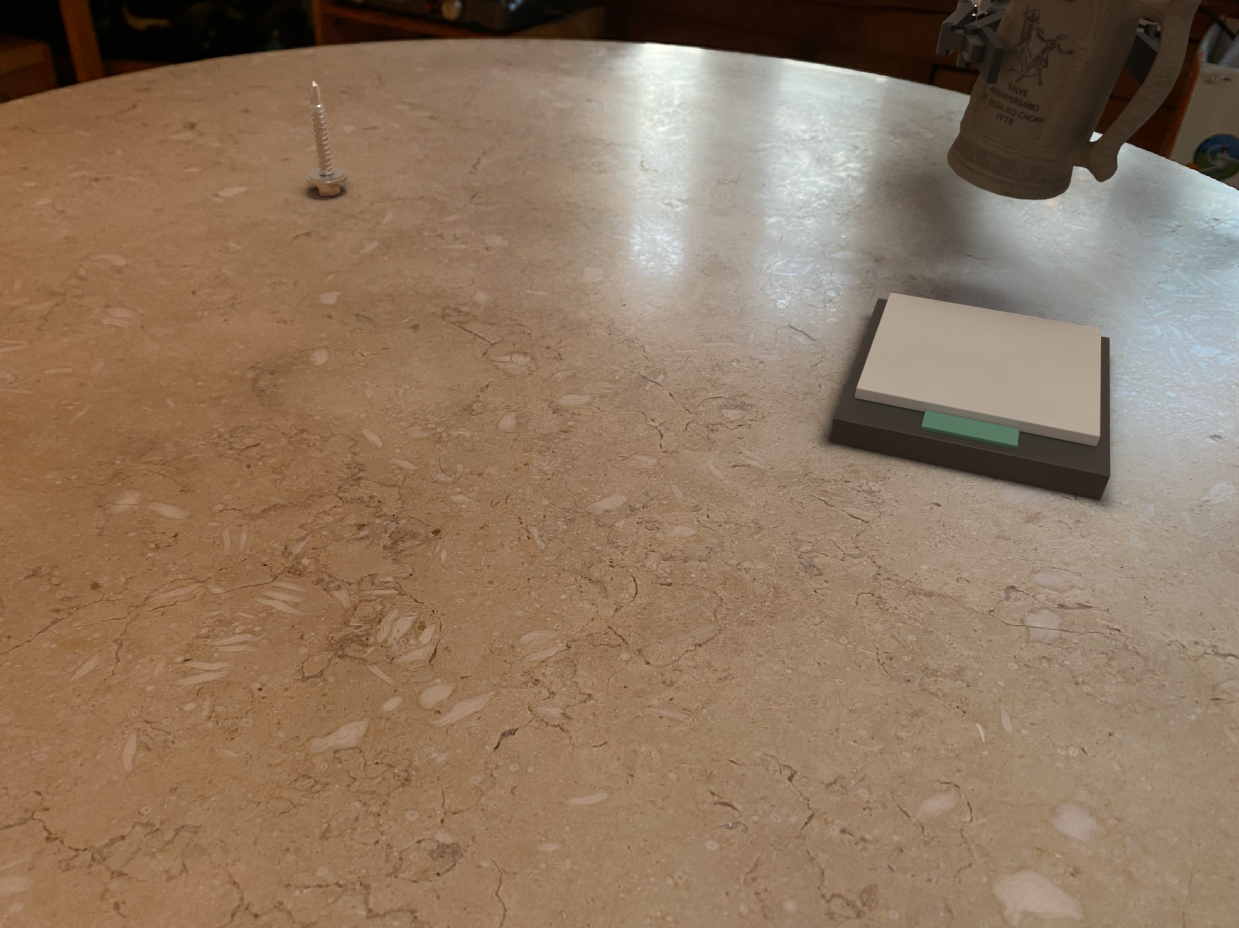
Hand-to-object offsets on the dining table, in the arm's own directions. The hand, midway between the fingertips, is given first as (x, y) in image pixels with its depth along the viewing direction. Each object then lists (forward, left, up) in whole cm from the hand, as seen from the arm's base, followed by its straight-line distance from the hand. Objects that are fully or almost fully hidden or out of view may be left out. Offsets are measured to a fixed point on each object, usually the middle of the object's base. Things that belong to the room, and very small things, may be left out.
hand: (1075, 69), depth 82 cm
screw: (+77, -7, -24) cm, 81 cm away
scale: (+1, +13, -24) cm, 27 cm away
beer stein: (+1, -4, -11) cm, 11 cm away
